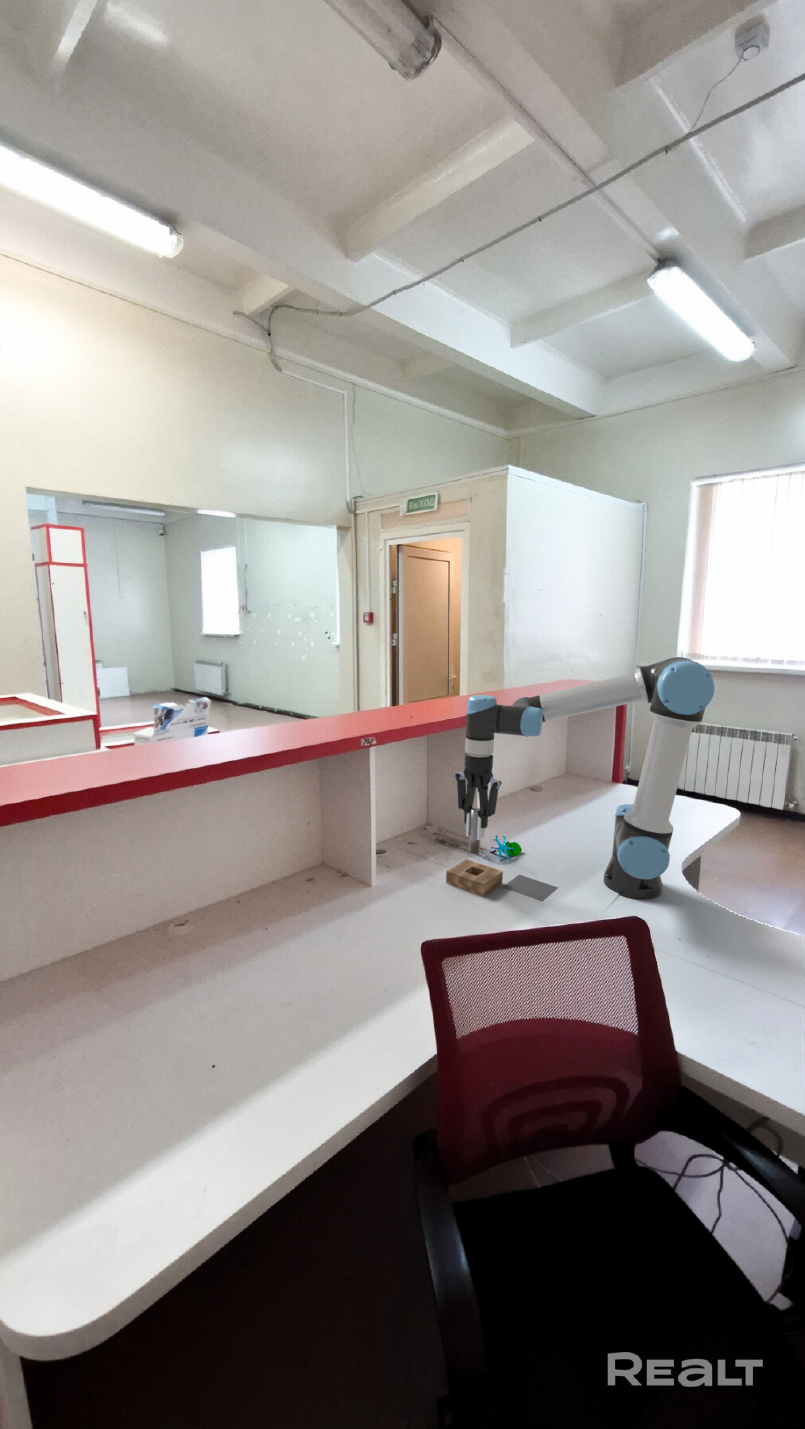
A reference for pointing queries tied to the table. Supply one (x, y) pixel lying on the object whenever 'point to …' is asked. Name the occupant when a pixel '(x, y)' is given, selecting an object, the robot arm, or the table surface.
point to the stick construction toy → (506, 848)
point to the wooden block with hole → (474, 877)
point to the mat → (530, 887)
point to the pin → (474, 831)
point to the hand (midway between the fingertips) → (475, 836)
